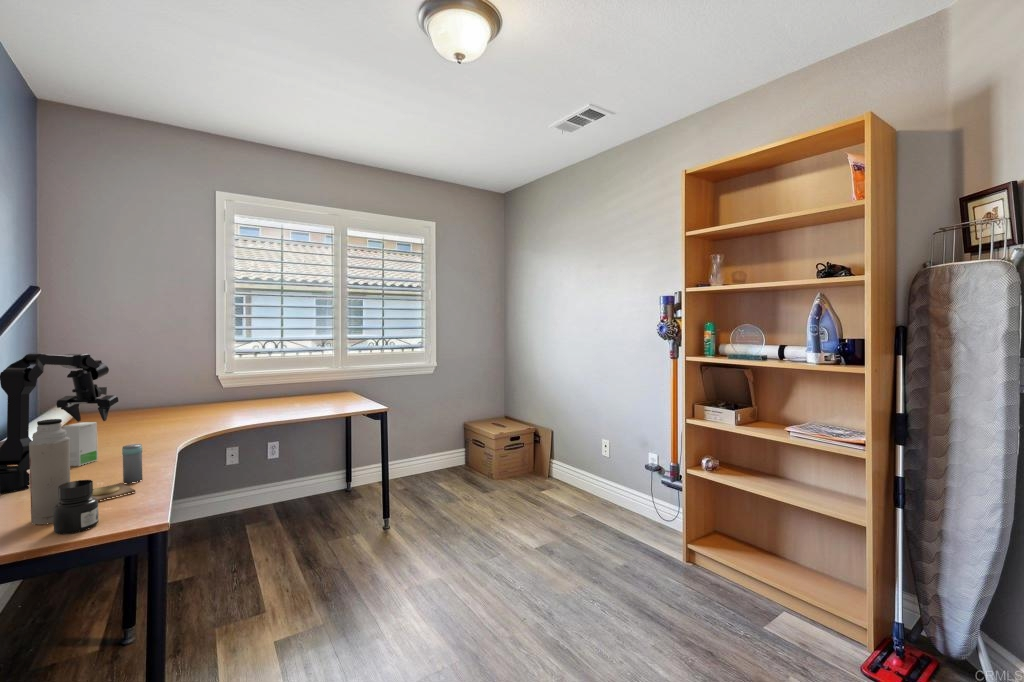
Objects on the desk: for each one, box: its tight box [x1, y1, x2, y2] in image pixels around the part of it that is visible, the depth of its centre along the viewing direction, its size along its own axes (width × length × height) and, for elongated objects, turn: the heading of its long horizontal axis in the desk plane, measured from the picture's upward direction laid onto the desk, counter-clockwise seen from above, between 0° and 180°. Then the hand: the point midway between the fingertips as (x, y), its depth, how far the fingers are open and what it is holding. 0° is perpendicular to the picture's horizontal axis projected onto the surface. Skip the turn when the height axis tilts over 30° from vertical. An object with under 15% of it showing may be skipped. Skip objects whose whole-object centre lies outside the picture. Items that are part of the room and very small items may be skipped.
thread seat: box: [92, 482, 136, 501], centre depth 150 cm, size 12×12×2 cm
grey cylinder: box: [121, 443, 143, 484], centre depth 162 cm, size 5×5×12 cm
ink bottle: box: [53, 479, 100, 535], centre depth 126 cm, size 10×9×12 cm
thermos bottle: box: [29, 418, 71, 525], centre depth 131 cm, size 8×8×28 cm
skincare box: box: [62, 421, 99, 467], centre depth 182 cm, size 8×7×16 cm
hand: (92, 421), depth 187 cm, fingers open, 9 cm apart
